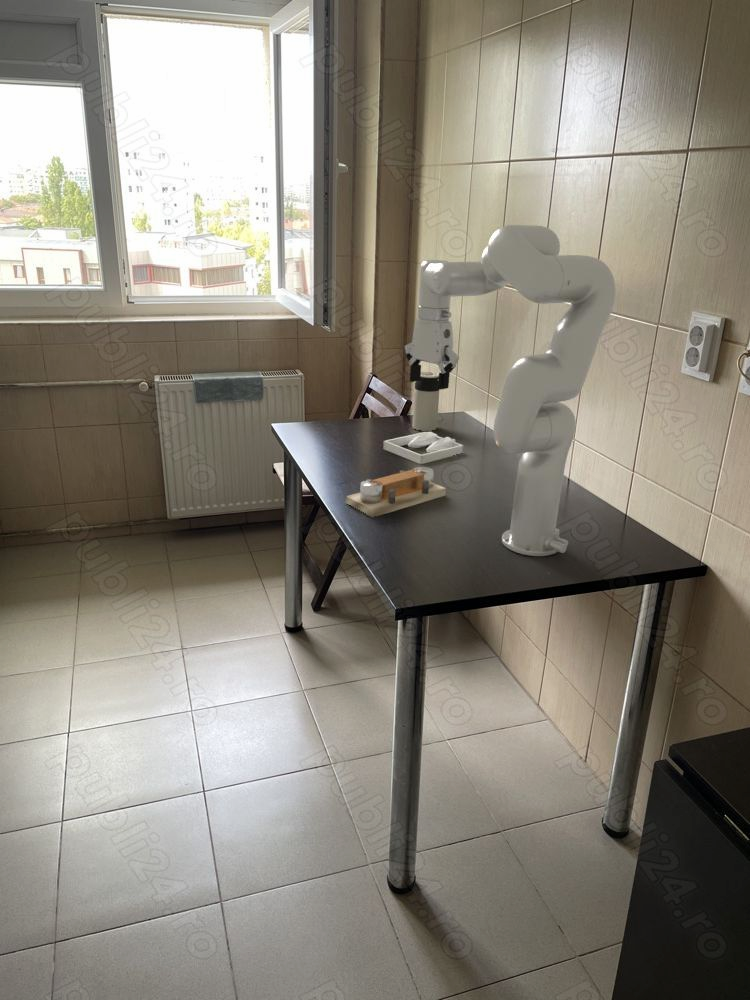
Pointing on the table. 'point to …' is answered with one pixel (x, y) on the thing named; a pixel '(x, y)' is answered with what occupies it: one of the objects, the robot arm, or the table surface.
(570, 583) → the table surface
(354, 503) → the tool rack
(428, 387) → the travel mug
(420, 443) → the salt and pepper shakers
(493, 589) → the table surface
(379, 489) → the orange dumbbell
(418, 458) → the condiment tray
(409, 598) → the table surface
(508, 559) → the table surface
